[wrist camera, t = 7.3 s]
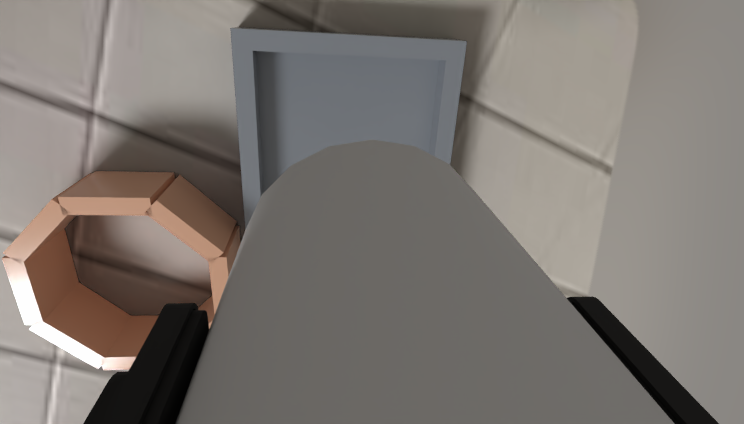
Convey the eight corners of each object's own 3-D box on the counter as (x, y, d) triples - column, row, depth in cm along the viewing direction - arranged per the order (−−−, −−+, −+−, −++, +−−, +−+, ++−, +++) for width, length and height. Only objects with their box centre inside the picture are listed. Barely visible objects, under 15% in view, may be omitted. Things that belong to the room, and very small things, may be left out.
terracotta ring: (235, 173, 26) (220, 198, 23) (247, 324, 31) (237, 366, 27) (30, 169, 25) (-20, 196, 21) (75, 328, 30) (41, 372, 26)
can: (339, 77, 12) (557, 906, 1) (525, 218, 14) (1198, 894, 3) (202, 273, 14) (-252, 1247, 3) (386, 367, 16) (513, 1083, 5)
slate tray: (456, 39, 24) (466, 41, 22) (432, 229, 29) (439, 243, 27) (237, 27, 23) (230, 28, 21) (251, 228, 28) (246, 243, 26)
